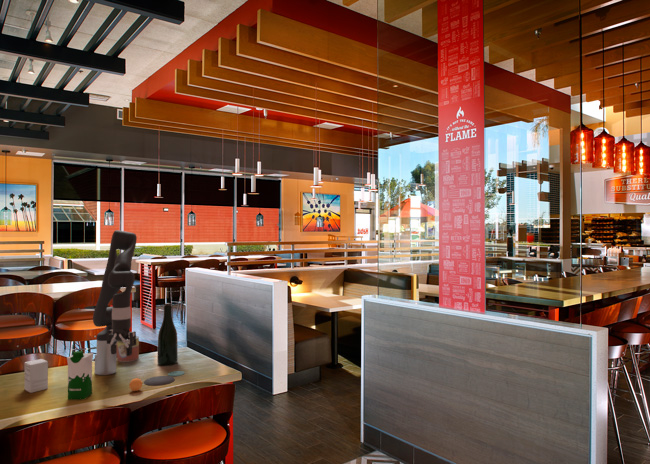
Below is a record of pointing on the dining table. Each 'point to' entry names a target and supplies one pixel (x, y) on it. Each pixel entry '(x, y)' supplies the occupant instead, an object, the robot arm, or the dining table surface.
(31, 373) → the supplement box
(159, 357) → the dark green wine bottle
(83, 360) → the milk carton
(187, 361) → the dining table surface
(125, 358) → the canned food
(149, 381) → the disc
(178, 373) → the disc
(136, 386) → the ball
